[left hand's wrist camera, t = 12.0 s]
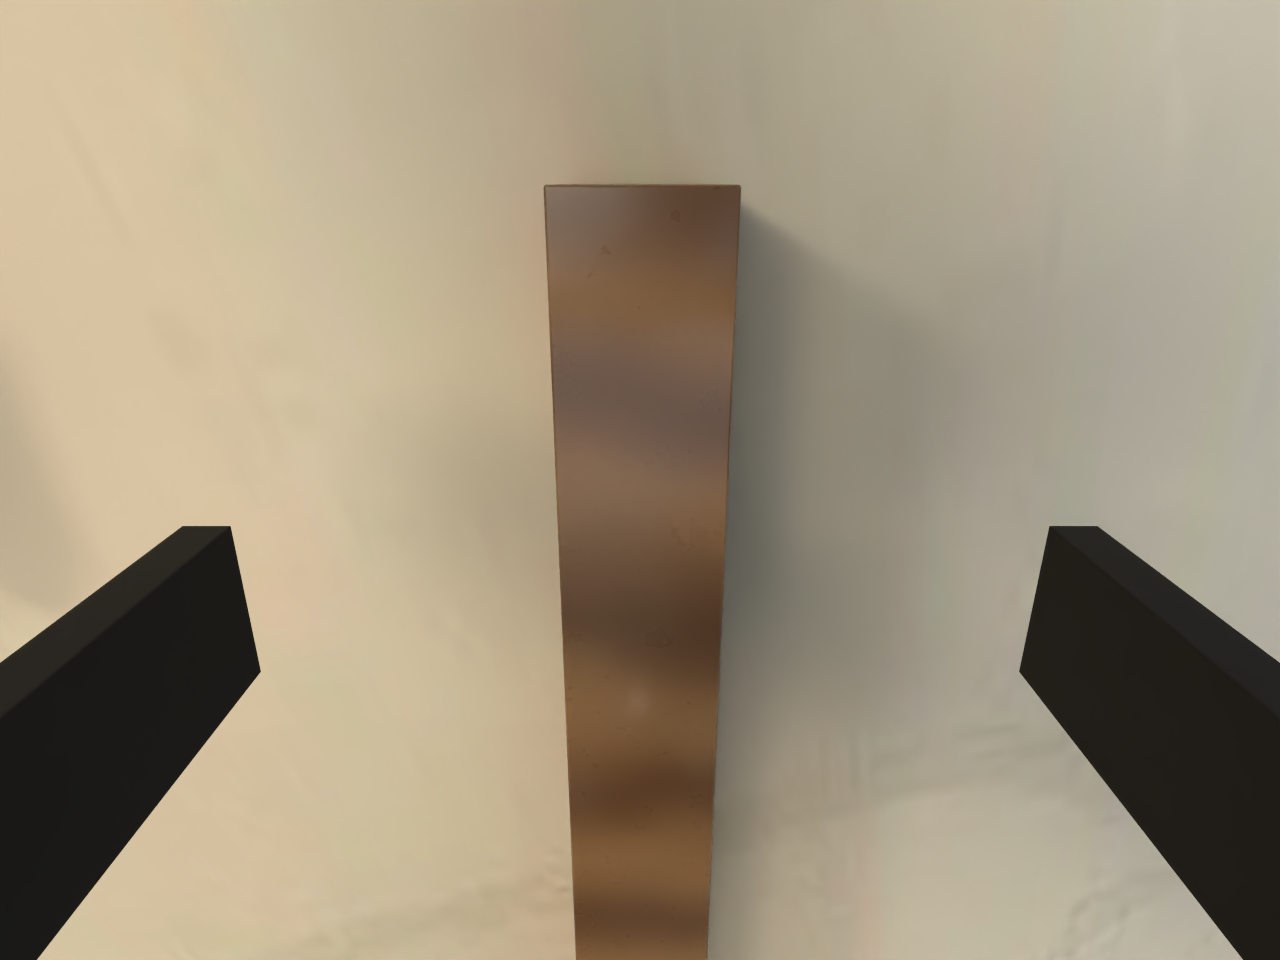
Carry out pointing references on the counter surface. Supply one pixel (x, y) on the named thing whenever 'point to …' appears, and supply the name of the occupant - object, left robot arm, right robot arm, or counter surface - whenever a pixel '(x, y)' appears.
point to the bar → (642, 545)
